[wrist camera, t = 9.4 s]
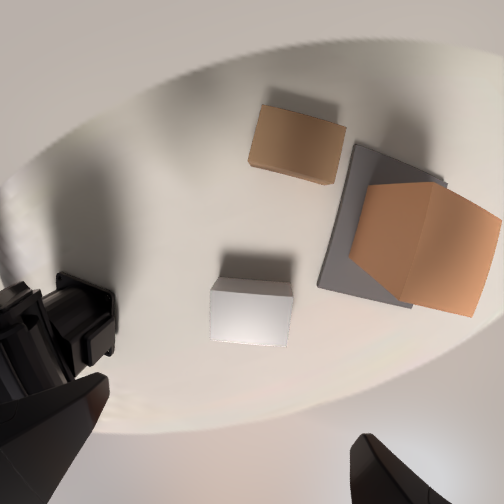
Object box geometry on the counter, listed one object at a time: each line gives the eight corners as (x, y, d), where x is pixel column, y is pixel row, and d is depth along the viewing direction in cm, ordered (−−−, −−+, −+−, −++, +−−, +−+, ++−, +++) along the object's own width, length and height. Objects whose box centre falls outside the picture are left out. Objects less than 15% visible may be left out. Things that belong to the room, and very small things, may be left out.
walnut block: (250, 166, 18) (247, 160, 15) (263, 118, 17) (262, 104, 14) (323, 185, 18) (334, 183, 15) (334, 137, 17) (346, 127, 14)
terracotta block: (348, 257, 18) (398, 300, 10) (368, 185, 17) (433, 181, 9) (407, 273, 18) (471, 317, 10) (426, 208, 17) (502, 220, 9)
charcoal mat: (316, 284, 19) (318, 287, 18) (353, 145, 17) (356, 144, 16) (408, 306, 19) (411, 308, 18) (443, 183, 17) (447, 183, 16)
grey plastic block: (218, 320, 20) (209, 340, 17) (219, 276, 19) (210, 290, 16) (284, 326, 20) (287, 346, 17) (290, 281, 19) (293, 297, 16)
